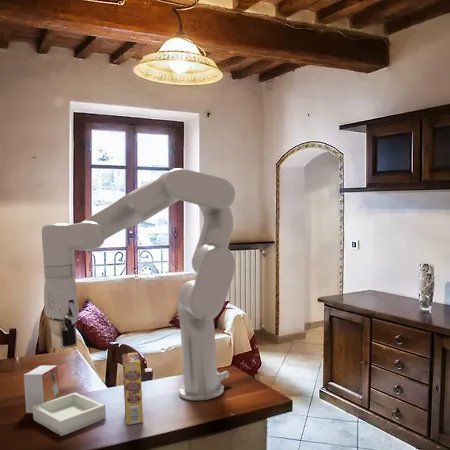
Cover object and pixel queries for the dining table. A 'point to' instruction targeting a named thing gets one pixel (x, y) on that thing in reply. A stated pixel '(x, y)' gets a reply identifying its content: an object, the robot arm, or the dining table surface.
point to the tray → (69, 413)
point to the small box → (41, 386)
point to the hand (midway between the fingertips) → (64, 342)
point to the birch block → (59, 334)
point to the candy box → (132, 388)
